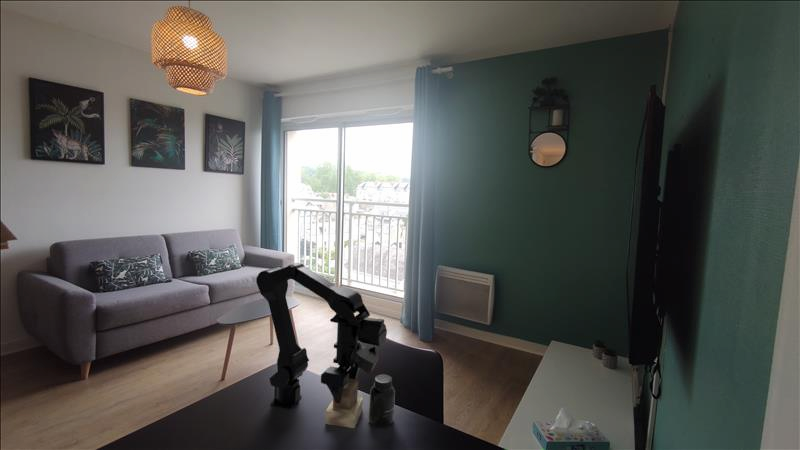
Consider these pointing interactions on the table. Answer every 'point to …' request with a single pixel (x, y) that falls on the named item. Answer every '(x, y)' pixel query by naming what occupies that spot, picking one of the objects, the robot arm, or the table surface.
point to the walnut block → (348, 395)
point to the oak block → (344, 414)
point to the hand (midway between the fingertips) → (345, 393)
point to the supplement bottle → (382, 401)
